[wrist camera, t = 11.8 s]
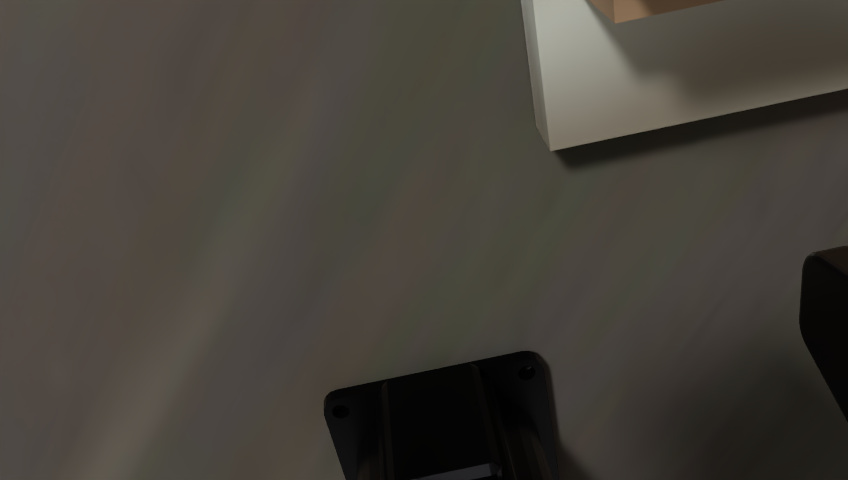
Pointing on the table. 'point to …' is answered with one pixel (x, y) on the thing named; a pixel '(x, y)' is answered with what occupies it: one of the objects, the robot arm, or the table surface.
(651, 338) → the table surface
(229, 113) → the table surface
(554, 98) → the ridge stand
